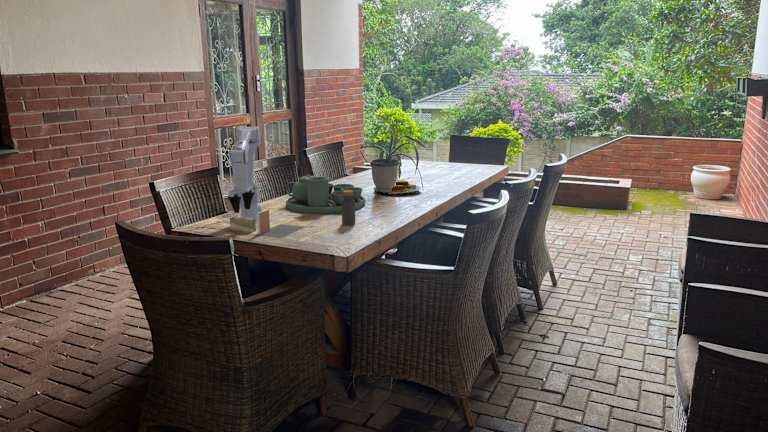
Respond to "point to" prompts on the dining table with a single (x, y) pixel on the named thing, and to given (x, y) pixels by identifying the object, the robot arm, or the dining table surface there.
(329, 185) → the tea set
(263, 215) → the tile
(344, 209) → the bottle
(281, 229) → the mat
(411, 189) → the food on plate
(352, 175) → the dining table surface
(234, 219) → the beige rectangular block
